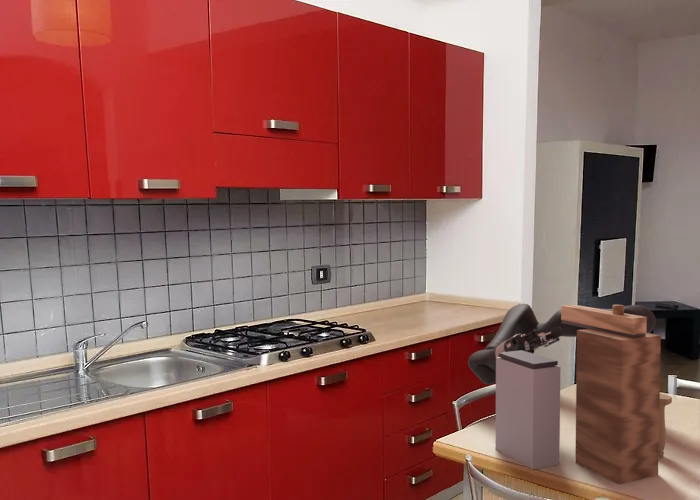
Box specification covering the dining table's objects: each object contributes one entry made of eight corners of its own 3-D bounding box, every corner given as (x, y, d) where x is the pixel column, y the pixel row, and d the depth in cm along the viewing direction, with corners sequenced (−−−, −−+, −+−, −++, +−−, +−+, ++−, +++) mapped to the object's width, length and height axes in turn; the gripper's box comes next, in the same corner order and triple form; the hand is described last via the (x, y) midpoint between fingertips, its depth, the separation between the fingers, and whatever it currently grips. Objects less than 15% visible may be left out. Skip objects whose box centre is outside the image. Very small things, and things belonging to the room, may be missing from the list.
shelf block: (612, 454, 148) (614, 326, 146) (658, 474, 136) (660, 335, 134) (575, 462, 143) (577, 330, 141) (619, 484, 131) (621, 340, 130)
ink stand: (520, 443, 155) (521, 349, 154) (559, 463, 142) (560, 361, 141) (495, 448, 152) (496, 352, 151) (532, 469, 139) (533, 364, 138)
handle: (666, 462, 143) (667, 400, 142) (638, 454, 147) (639, 395, 147) (673, 456, 146) (674, 396, 145) (645, 449, 151) (647, 391, 150)
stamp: (573, 321, 153) (573, 296, 153) (646, 336, 133) (646, 308, 133) (561, 322, 152) (561, 297, 151) (633, 338, 132) (633, 309, 131)
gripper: (538, 361, 174) (574, 343, 160) (497, 366, 168) (532, 348, 155) (529, 336, 177) (564, 317, 163) (490, 340, 171) (523, 320, 158)
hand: (548, 332), depth 159 cm, fingers open, 8 cm apart
